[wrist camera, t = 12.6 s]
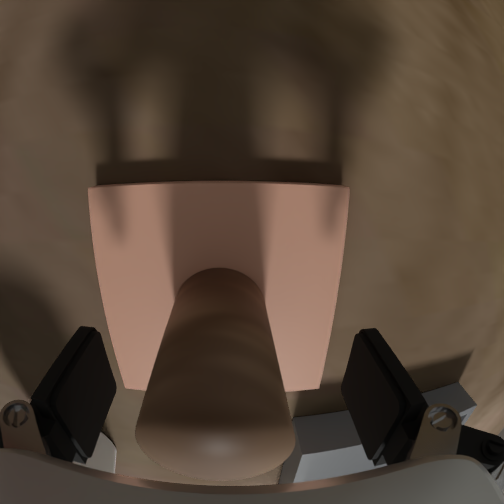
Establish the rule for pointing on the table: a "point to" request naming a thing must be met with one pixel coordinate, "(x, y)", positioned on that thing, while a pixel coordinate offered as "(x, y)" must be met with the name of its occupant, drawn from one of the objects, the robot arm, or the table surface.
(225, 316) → the walnut peg
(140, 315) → the terracotta board
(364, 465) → the bin
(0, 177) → the table surface
